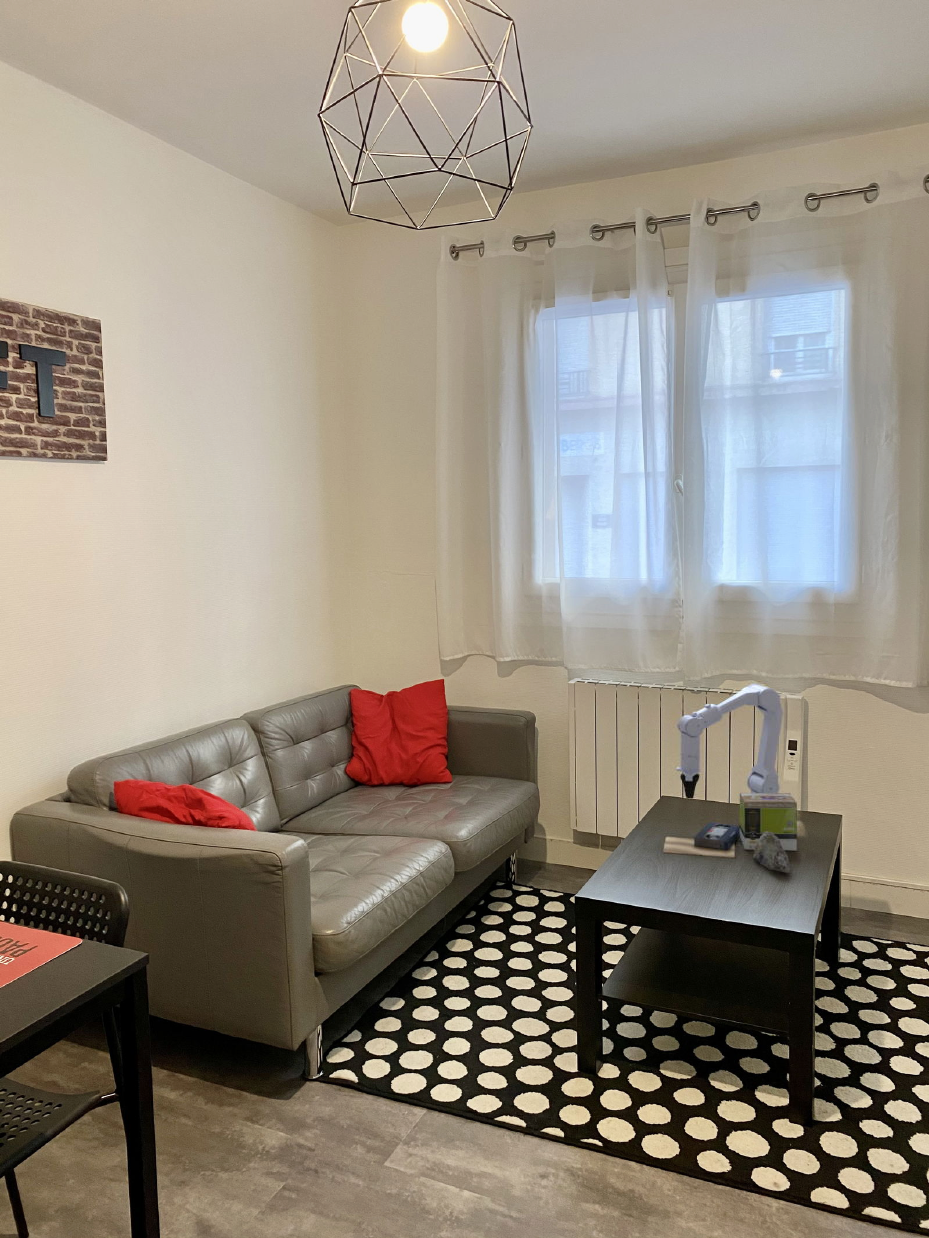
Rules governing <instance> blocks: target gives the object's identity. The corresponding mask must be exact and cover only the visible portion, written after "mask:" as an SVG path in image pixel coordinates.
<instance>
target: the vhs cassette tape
mask: <svg viewBox="0 0 929 1238" xmlns="http://www.w3.org/2000/svg"><path fill="white" fill-rule="evenodd" d="M738 838H740V825H737V824H736V825H735V824H728V823H721V822H712V821H710V822H708V823H707V824H706V825H705V826H703V828H702V829H701V830H700V831H699V832H698V833H696V835H695V836H694V838H693V839H694V845H695V846H702V847H709V848H716V849H724V850H728V849H729V848H730V847H731V845H732V844H733V843H734V842H736V841H737V840H738Z"/></svg>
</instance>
